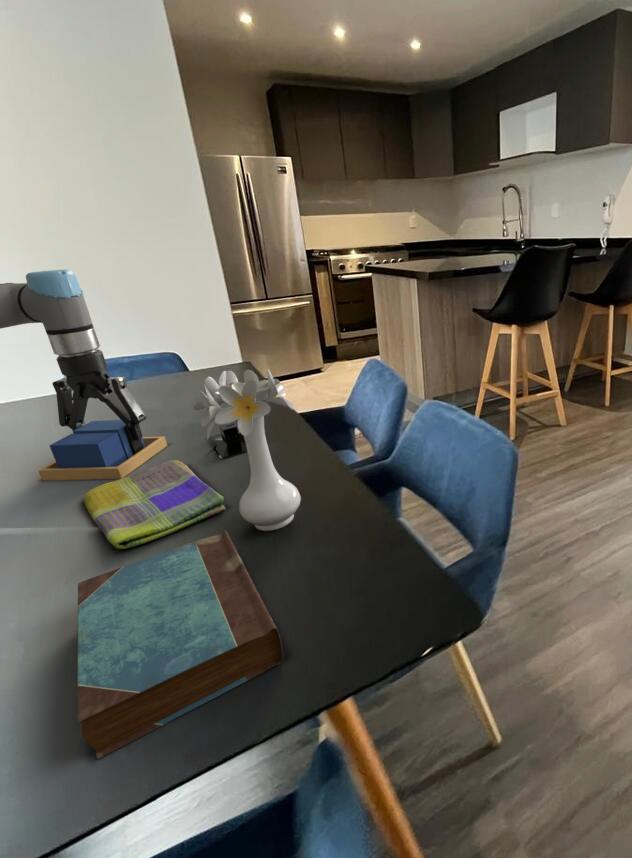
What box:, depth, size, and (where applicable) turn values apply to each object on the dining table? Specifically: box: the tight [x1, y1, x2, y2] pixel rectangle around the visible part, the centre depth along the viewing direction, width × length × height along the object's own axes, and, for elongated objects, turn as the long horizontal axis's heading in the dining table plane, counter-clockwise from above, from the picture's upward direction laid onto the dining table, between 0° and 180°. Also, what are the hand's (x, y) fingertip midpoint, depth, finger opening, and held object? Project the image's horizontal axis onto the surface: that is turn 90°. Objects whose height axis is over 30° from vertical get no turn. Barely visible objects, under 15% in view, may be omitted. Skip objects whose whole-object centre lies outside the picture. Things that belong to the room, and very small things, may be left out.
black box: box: [213, 421, 248, 460], centre depth 108 cm, size 12×7×5 cm, turn 36°
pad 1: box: [48, 432, 127, 468], centre depth 98 cm, size 10×6×7 cm, turn 86°
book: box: [76, 530, 284, 760], centre depth 56 cm, size 23×18×5 cm
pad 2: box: [72, 419, 145, 460], centre depth 104 cm, size 10×6×7 cm, turn 86°
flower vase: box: [193, 368, 302, 532], centre depth 75 cm, size 13×18×25 cm
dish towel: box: [82, 459, 227, 550], centre depth 85 cm, size 18×24×3 cm
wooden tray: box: [38, 436, 168, 482], centre depth 103 cm, size 17×15×3 cm
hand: (115, 454), depth 105 cm, fingers closed on pad 2, 10 cm apart
